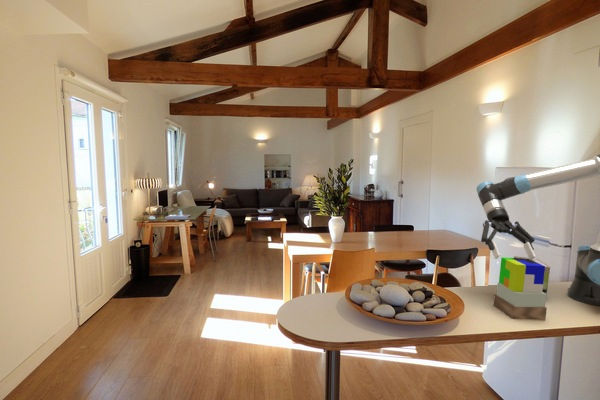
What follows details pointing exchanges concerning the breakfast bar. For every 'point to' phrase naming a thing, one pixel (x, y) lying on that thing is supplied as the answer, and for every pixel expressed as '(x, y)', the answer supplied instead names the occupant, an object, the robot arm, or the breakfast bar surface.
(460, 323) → the breakfast bar surface
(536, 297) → the grey-green top slab
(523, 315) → the walnut base slab
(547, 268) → the tea box
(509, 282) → the puzzle toy
